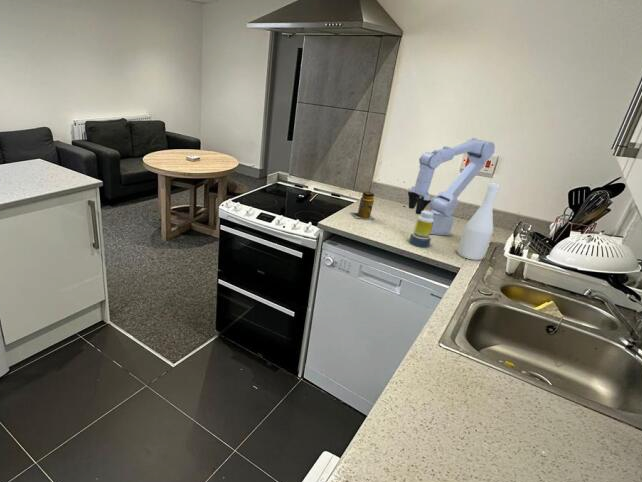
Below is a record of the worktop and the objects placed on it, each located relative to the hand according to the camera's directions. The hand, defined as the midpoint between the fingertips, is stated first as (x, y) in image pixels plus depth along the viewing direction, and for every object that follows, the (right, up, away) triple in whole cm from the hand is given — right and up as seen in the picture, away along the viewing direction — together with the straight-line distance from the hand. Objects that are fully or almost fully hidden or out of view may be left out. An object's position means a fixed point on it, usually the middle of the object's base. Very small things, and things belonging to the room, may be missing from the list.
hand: (414, 211), depth 172 cm
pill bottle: (-1, -12, -8) cm, 14 cm away
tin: (-1, -14, -7) cm, 16 cm away
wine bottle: (+16, -19, -14) cm, 29 cm away
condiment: (-17, -1, +21) cm, 27 cm away
